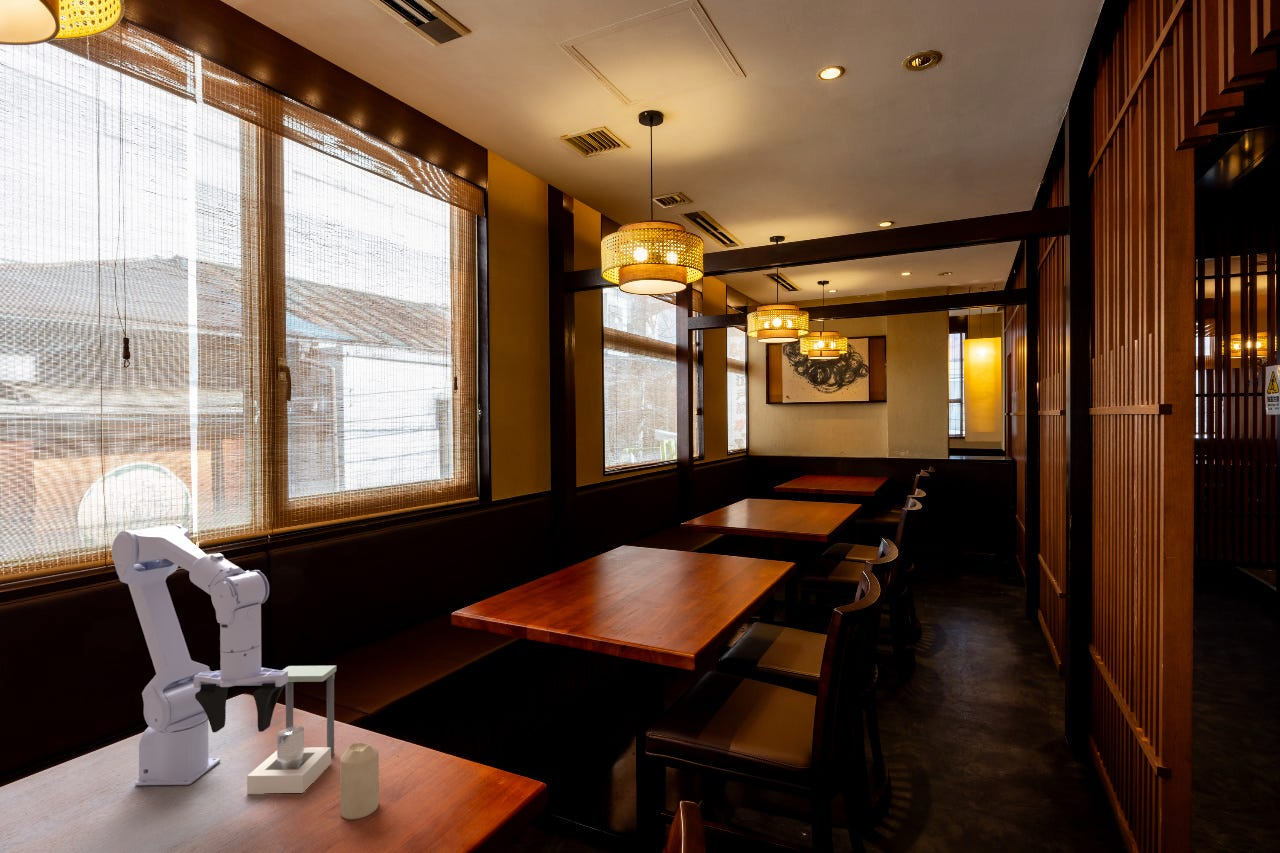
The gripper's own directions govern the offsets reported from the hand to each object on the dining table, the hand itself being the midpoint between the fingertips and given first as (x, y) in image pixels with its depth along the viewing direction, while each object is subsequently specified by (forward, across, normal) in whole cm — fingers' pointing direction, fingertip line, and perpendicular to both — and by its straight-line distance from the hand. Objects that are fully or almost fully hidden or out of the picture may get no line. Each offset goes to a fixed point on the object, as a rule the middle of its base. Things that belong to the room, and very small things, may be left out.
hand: (241, 729), depth 103 cm
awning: (+10, +5, +11) cm, 16 cm away
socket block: (+10, +6, +4) cm, 13 cm away
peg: (+10, +6, +4) cm, 13 cm away
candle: (+11, +22, -5) cm, 25 cm away
